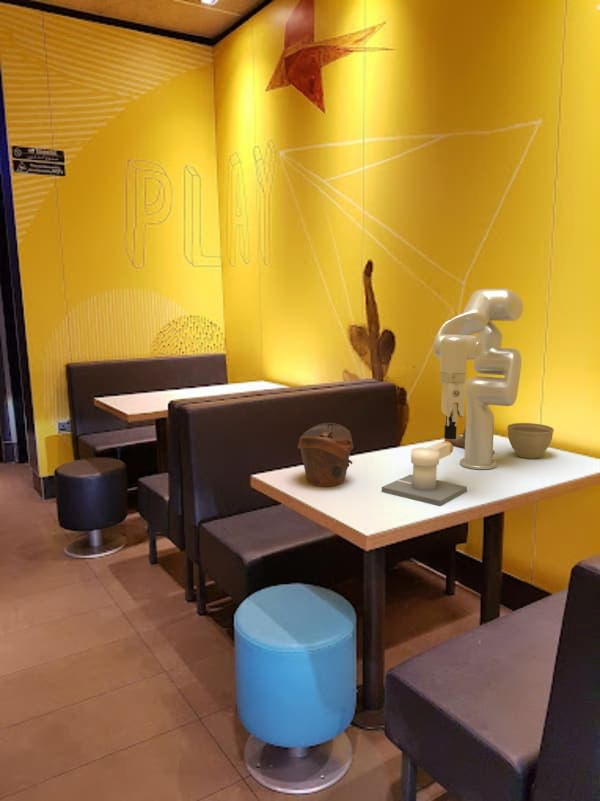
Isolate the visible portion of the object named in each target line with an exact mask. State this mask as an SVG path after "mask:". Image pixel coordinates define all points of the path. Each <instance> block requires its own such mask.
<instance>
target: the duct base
mask: <svg viewBox="0 0 600 801" xmlns="http://www.w3.org/2000/svg"><path fill="white" fill-rule="evenodd" d="M412 465H413V466H412V474H408V475H406V476H404V477H402V478H399V479H397V480H395V481H392V482H390V483H388V484H385V485H383V486H381V492H382V493H386V494H390V495H393V496H397V497H403V498H405V499H406V498H407V499H410V500H415V501H418V502H422V503H426V504H430V505H435V506H439V507H440V506H443V505H444V504H447V503H449V502H450V501H452V500H455V498H458V497H459V496H461V495H463V494H465V493H467V492H468V486H465V485H460V484H455V483H451V482H447V481H443V480H437V466H438V465H435V466H419V465H415V464H413V463H412Z"/></svg>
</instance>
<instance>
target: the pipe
mask: <svg viewBox="0 0 600 801" xmlns="http://www.w3.org/2000/svg"><path fill="white" fill-rule="evenodd" d="M465 432H466V425H465V426H464V430H463V432H462V435H460V434H458V435H457V434H456V439H446V438H445V437H444V438H443V440H444V441H448V442H450V443H451V444H452V445H453V446H454V445H455V446H459V447H461V448H465Z"/></svg>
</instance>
